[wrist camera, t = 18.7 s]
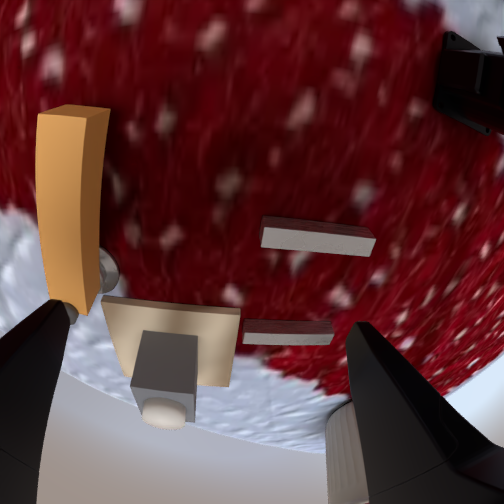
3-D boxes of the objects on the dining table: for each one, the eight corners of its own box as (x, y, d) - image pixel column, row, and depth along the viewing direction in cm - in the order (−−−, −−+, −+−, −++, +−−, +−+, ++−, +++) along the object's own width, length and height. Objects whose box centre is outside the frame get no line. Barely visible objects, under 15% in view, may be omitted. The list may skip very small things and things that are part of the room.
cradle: (367, 227, 21) (377, 240, 19) (325, 332, 27) (329, 346, 26) (53, 201, 18) (41, 213, 16) (81, 312, 24) (75, 326, 23)
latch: (66, 104, 13) (31, 116, 10) (110, 108, 13) (80, 120, 10) (67, 286, 20) (50, 318, 17) (100, 295, 20) (86, 329, 17)
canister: (285, 425, 40) (300, 545, 23) (374, 367, 32) (420, 520, 15) (356, 431, 47) (377, 524, 29) (433, 383, 39) (471, 487, 21)
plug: (197, 335, 25) (192, 411, 19) (197, 371, 28) (194, 436, 22) (143, 329, 25) (126, 402, 18) (150, 366, 28) (140, 430, 22)
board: (240, 308, 25) (240, 315, 24) (228, 381, 31) (228, 387, 30) (103, 295, 23) (100, 301, 22) (125, 370, 30) (124, 376, 29)
